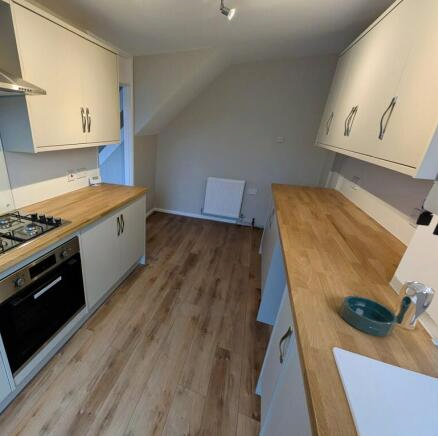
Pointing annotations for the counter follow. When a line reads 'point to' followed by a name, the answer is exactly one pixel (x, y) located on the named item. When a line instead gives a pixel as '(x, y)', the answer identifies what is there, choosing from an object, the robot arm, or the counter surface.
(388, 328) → the bowl
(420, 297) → the beer glass
